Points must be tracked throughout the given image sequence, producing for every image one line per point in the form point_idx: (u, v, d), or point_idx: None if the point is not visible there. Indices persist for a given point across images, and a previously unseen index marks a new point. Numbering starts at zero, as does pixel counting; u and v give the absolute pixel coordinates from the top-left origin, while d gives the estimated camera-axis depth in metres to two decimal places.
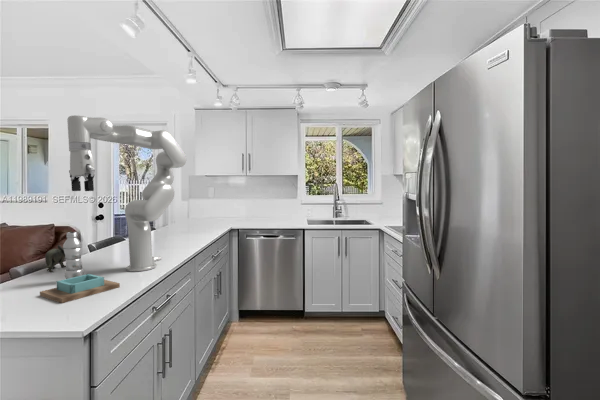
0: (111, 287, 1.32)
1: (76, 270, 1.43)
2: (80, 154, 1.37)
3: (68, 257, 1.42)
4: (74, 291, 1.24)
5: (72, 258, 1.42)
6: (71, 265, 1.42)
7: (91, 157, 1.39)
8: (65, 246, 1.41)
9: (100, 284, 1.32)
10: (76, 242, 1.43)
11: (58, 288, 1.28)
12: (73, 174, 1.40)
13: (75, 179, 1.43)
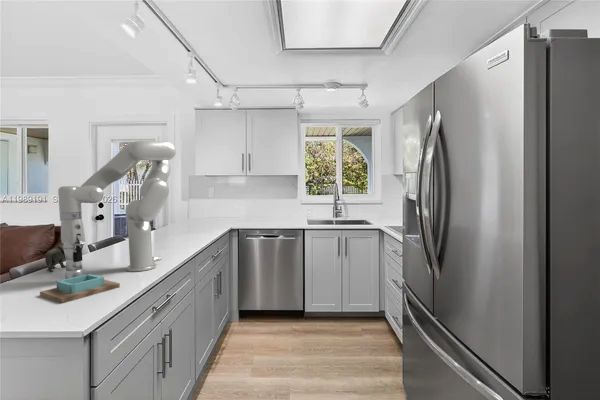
0: (111, 287, 1.32)
1: (76, 270, 1.43)
2: (70, 224, 1.40)
3: (68, 257, 1.42)
4: (74, 291, 1.24)
5: (72, 258, 1.42)
6: (70, 265, 1.42)
7: (81, 226, 1.42)
8: (65, 246, 1.41)
9: (100, 284, 1.32)
10: None
11: (58, 288, 1.28)
12: (64, 242, 1.43)
13: None
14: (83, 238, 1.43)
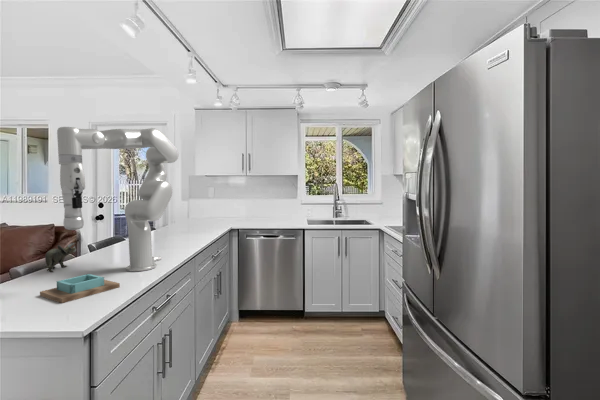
0: (111, 287, 1.32)
1: (75, 217, 1.33)
2: (69, 167, 1.30)
3: (67, 203, 1.32)
4: (74, 291, 1.24)
5: (71, 205, 1.33)
6: (69, 212, 1.32)
7: (81, 170, 1.33)
8: (64, 191, 1.32)
9: (100, 284, 1.32)
10: None
11: (58, 288, 1.28)
12: None
13: None
14: (83, 183, 1.33)
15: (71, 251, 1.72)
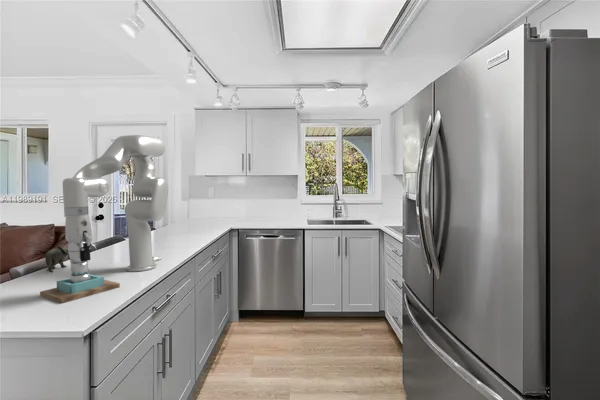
0: (111, 287, 1.32)
1: (82, 275, 1.29)
2: (76, 221, 1.25)
3: (73, 261, 1.28)
4: (74, 291, 1.24)
5: (78, 262, 1.28)
6: (76, 270, 1.28)
7: (88, 222, 1.28)
8: (70, 249, 1.27)
9: (100, 284, 1.32)
10: (83, 244, 1.29)
11: (58, 288, 1.28)
12: (69, 241, 1.29)
13: None
14: (90, 236, 1.28)
15: None
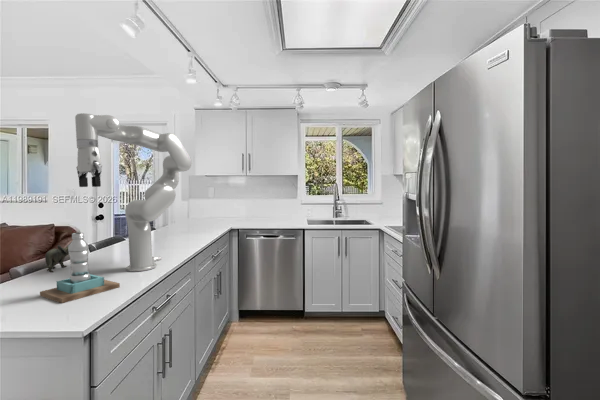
0: (111, 287, 1.32)
1: (82, 275, 1.29)
2: (87, 151, 1.41)
3: (74, 261, 1.28)
4: (74, 291, 1.24)
5: (78, 262, 1.28)
6: (76, 270, 1.28)
7: (98, 154, 1.44)
8: (70, 249, 1.27)
9: (100, 284, 1.32)
10: (83, 244, 1.29)
11: (58, 288, 1.28)
12: (81, 170, 1.45)
13: (82, 175, 1.48)
14: None
15: None
